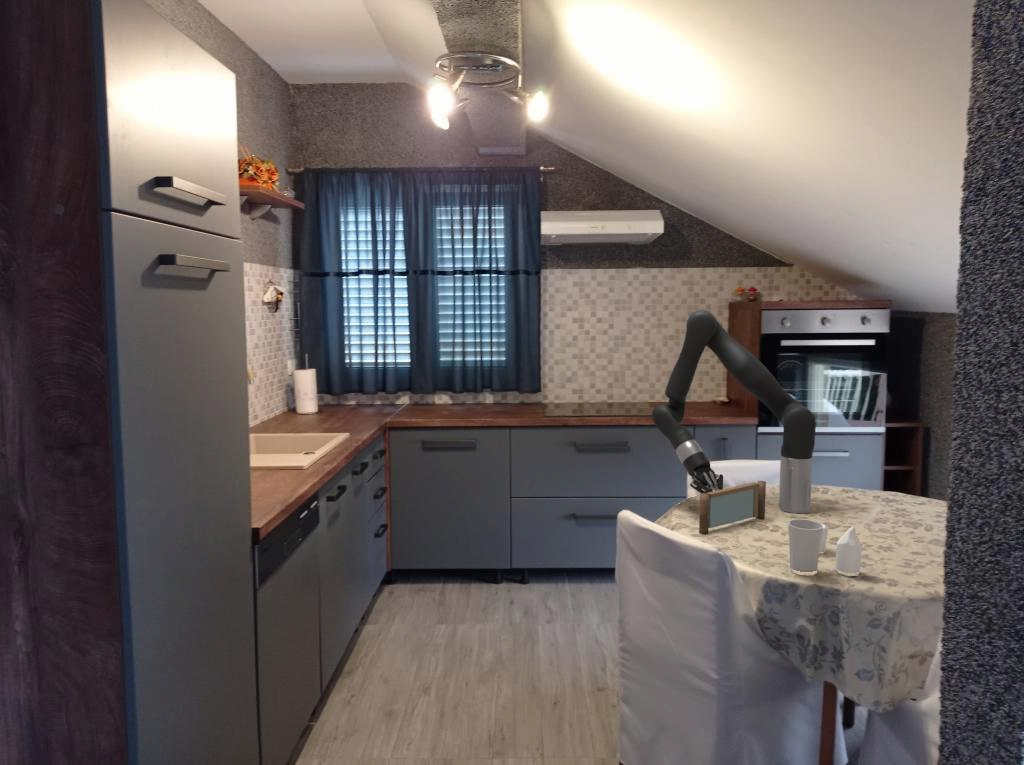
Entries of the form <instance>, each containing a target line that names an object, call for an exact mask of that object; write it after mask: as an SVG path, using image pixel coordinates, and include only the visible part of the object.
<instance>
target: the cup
mask: <svg viewBox="0 0 1024 765" xmlns="http://www.w3.org/2000/svg"><path fill="white" fill-rule="evenodd" d="M821 523H822V522H819V521H815V520H812V519H804V518H794V519H790V520H789V521H788V522H787V530H788V545H789V569H790V568H791V569H793V570H796V571H800V572H813V571H816V570H817V571H818V566H819V557H820V554H819V551H820V543H821V538H822V531H823V525H822V524H821Z"/></svg>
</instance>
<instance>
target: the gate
mask: <svg viewBox="0 0 1024 765" xmlns="http://www.w3.org/2000/svg"><path fill="white" fill-rule="evenodd" d="M758 493H759V483H758V482H750V483H746V484H745V483H744V484H740V485H735V486H732V487H727V488H723V489H722V490H717V491H712V492H708V493H707V494H709V529H714V528H717V527H720V526H724V525H727V524H728V525H729V524H732V523H736V522H741V521H744V520H747V519H751V518H756V517H758Z"/></svg>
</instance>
